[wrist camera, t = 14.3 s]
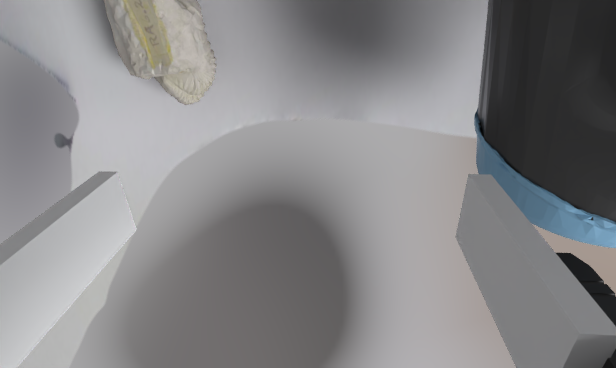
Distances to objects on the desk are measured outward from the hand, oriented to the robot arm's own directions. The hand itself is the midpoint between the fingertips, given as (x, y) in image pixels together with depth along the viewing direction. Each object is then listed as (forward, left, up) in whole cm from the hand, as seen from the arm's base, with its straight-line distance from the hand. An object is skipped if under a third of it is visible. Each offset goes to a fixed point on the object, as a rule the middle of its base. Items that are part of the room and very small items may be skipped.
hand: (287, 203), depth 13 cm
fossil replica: (+15, -4, -27) cm, 31 cm away
